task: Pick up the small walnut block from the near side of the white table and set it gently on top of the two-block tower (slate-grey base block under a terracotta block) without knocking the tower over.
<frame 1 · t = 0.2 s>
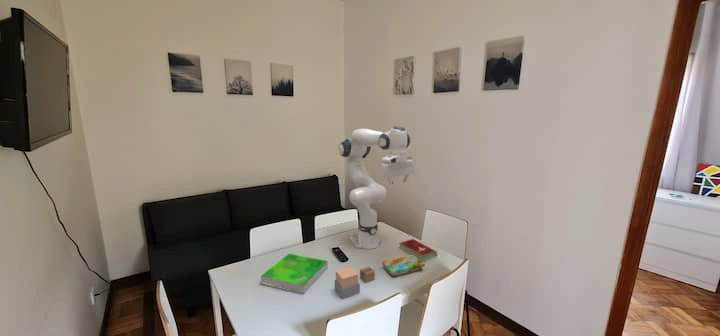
hand: (398, 183, 158), 48 cm above the table, fingers open, 8 cm apart
hardcover book: (417, 253, 182), on the table
walnut block: (367, 278, 153), on the table
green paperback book: (296, 276, 157), on the table
tower base: (347, 291, 143), on the table
puzzle game: (402, 269, 162), on the table
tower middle: (346, 281, 142), point 5 cm above the table
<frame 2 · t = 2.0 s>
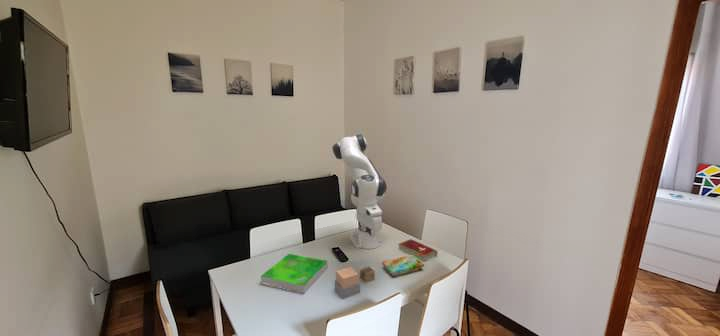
hand: (368, 233, 149), 25 cm above the table, fingers open, 8 cm apart
tower base: (347, 291, 143), on the table, touching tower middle
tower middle: (347, 281, 142), point 5 cm above the table, touching tower base
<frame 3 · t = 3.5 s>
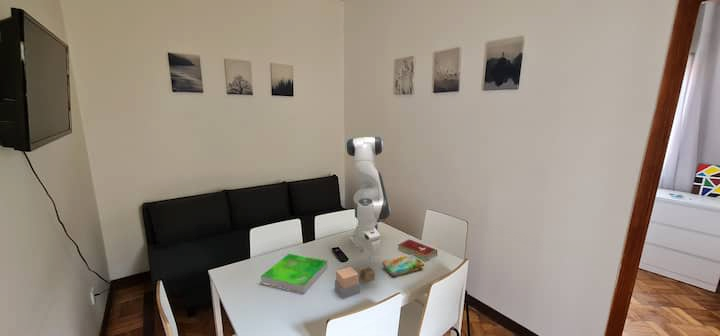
hand: (366, 256, 151), 13 cm above the table, fingers open, 8 cm apart
tower base: (347, 291, 143), on the table
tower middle: (347, 282, 142), point 5 cm above the table
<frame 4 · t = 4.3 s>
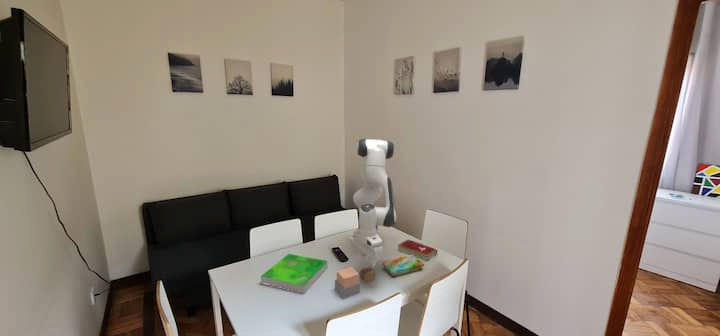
hand: (368, 261, 151), 10 cm above the table, fingers open, 8 cm apart
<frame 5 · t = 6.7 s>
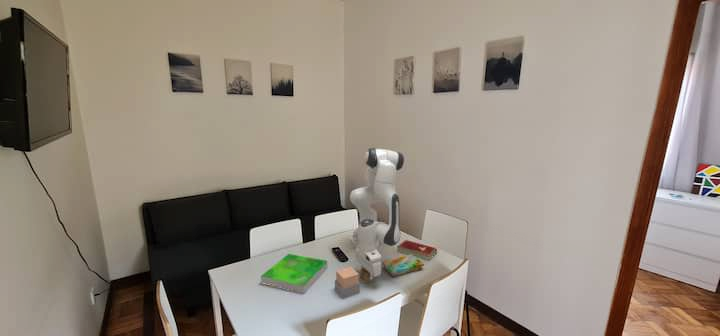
hand: (367, 275, 153), 2 cm above the table, fingers closed on walnut block, 5 cm apart
walnut block: (367, 278, 153), on the table, touching gripper
tower base: (347, 291, 143), on the table, touching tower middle
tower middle: (347, 281, 142), point 5 cm above the table, touching tower base
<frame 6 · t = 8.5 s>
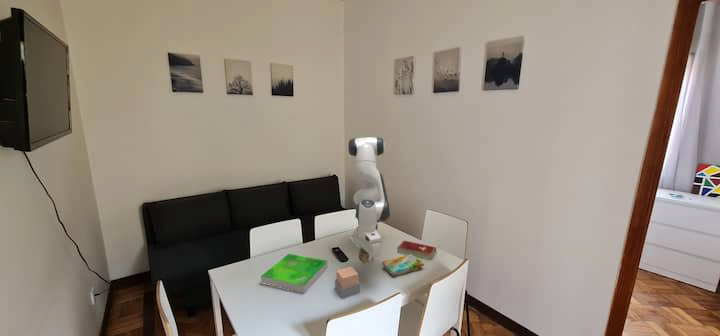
hand: (366, 257, 151), 12 cm above the table, fingers closed on walnut block, 5 cm apart
walnut block: (365, 259, 152), point 10 cm above the table, touching gripper
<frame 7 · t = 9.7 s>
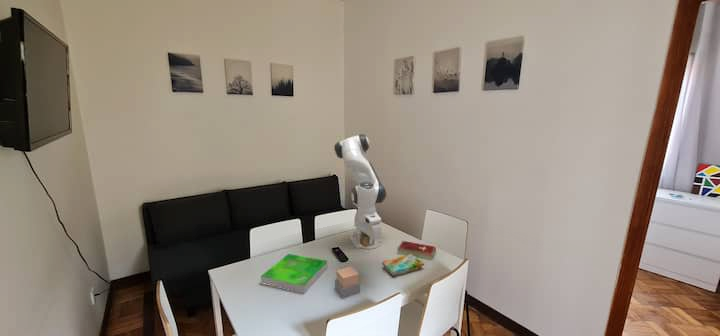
hand: (366, 240, 149), 21 cm above the table, fingers closed on walnut block, 5 cm apart
walnut block: (366, 243, 149), point 19 cm above the table, touching gripper
when the fingers open (12 cm above the table, at t = 15.0 s): walnut block stays where it is, resting on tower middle.
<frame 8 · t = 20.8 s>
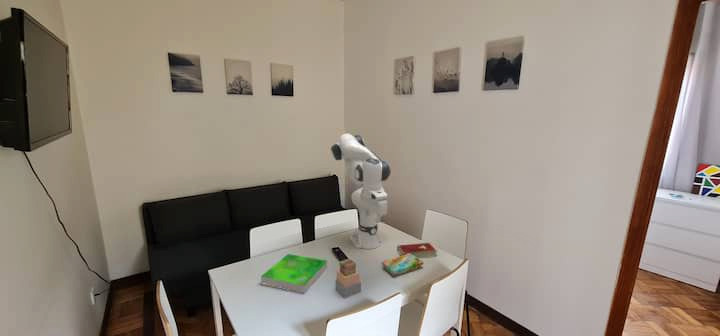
hand: (372, 218, 146), 33 cm above the table, fingers open, 8 cm apart
walnut block: (347, 272, 141), point 10 cm above the table, touching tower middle
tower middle: (348, 281, 143), point 5 cm above the table, touching tower base, walnut block
at the end: walnut block 0.1 cm off-centre on the tower base, point 10.0 cm above the tower base's base; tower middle tilted 0°; walnut block tilted 0° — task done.
